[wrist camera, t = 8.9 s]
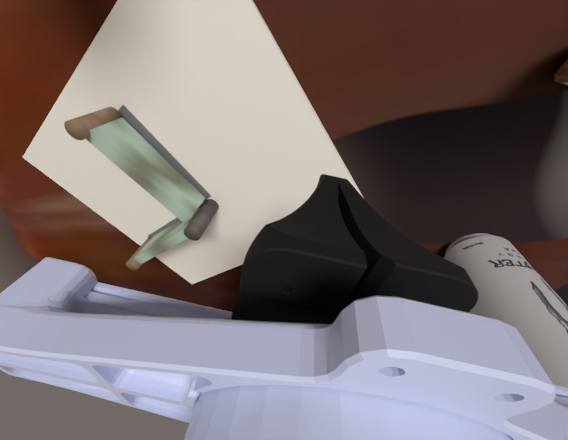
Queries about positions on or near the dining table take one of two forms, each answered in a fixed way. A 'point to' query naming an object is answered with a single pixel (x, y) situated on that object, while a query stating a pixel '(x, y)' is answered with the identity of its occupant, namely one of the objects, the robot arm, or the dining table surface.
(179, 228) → the fixed fence section
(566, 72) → the tin
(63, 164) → the board
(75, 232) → the dining table surface
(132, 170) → the hinged fence section
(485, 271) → the energy drink can
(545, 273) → the dining table surface
